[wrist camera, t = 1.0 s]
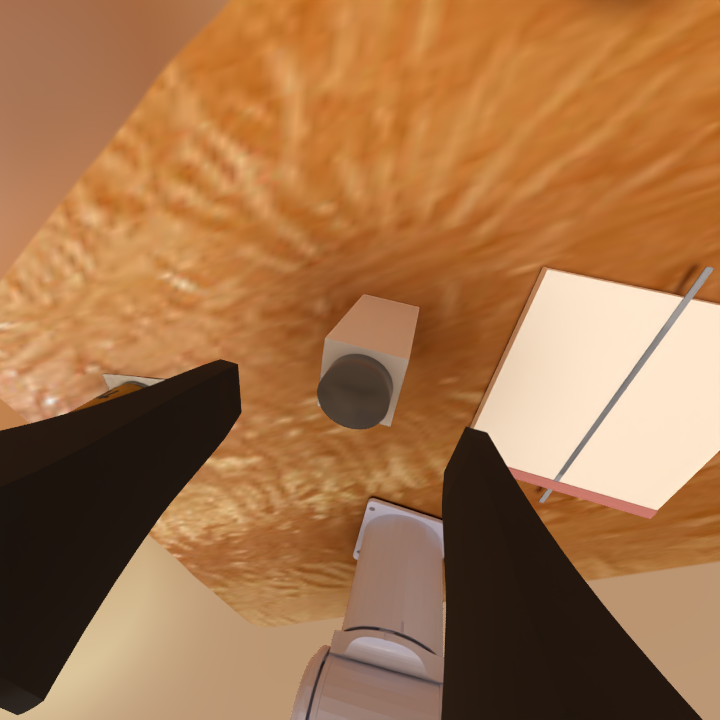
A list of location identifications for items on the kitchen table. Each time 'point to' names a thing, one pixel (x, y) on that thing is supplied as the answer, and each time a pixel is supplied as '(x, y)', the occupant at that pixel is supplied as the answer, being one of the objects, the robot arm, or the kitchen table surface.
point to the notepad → (607, 391)
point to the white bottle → (366, 362)
